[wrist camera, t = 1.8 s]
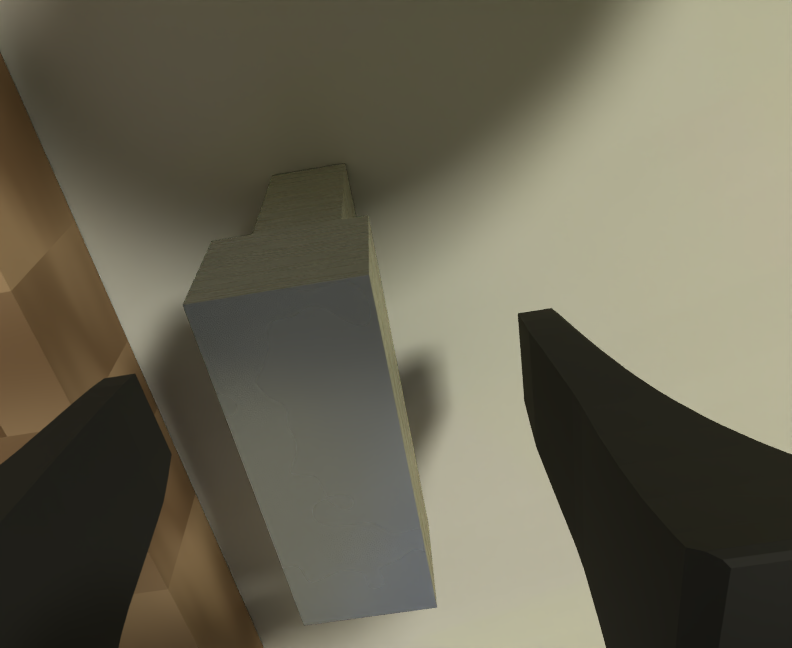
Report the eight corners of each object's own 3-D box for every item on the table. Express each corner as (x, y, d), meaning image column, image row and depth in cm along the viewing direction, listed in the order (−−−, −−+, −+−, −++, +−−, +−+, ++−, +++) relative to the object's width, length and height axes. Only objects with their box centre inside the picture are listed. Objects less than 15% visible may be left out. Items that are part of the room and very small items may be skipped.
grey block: (416, 416, 17) (437, 607, 13) (320, 431, 17) (304, 625, 13) (367, 147, 14) (369, 274, 9) (244, 167, 14) (182, 304, 9)
